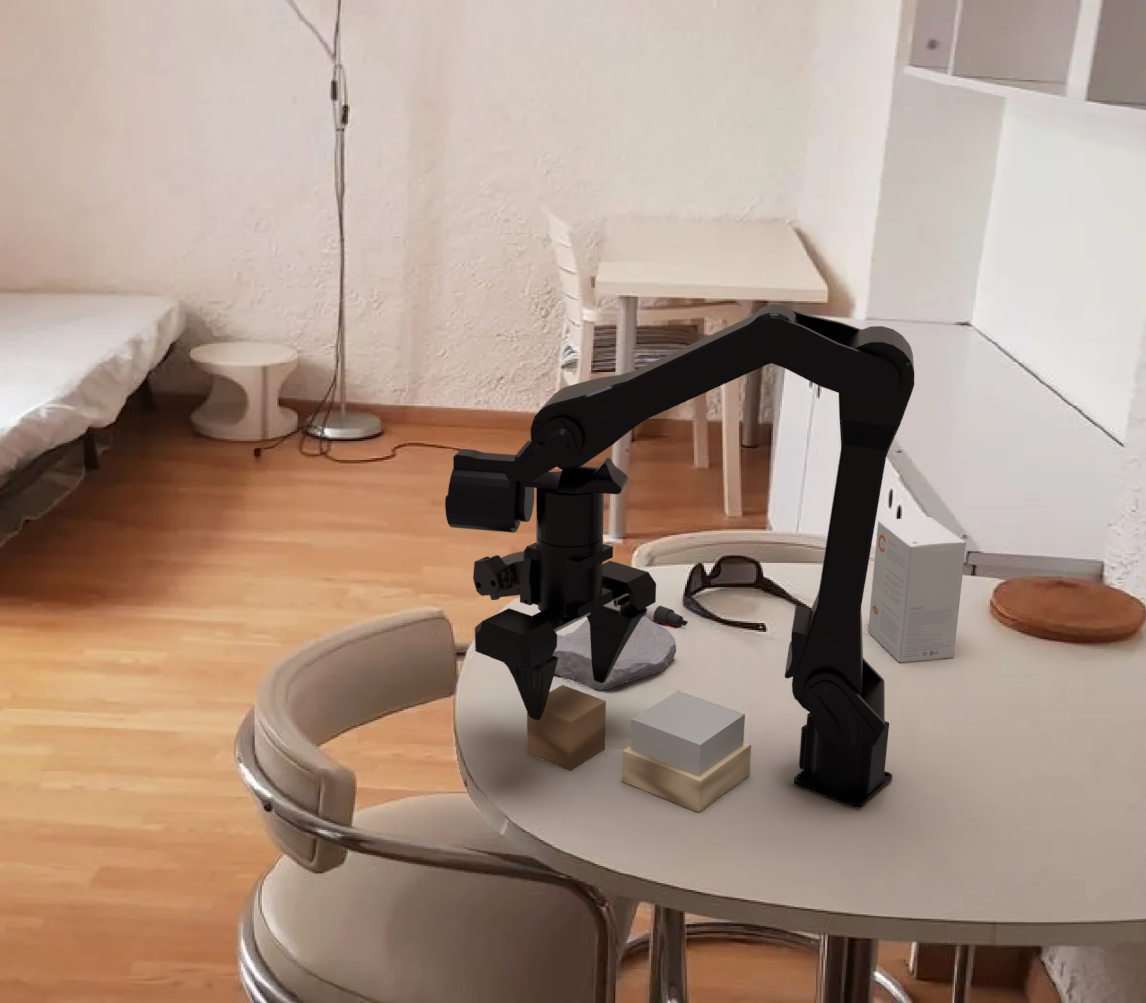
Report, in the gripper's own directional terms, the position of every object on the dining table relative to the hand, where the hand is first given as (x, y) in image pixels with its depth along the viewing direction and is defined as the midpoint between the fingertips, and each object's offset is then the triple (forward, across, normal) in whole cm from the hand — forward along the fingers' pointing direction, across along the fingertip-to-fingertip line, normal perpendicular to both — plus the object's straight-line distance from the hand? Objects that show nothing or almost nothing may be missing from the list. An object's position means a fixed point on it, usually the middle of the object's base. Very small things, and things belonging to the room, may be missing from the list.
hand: (568, 699), depth 124 cm
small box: (+6, -41, +14) cm, 44 cm away
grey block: (+2, -3, +11) cm, 11 cm away
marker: (+6, -29, -14) cm, 33 cm away
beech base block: (+5, -3, +11) cm, 12 cm away
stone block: (+6, -17, -7) cm, 19 cm away
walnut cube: (+5, 0, 0) cm, 5 cm away
